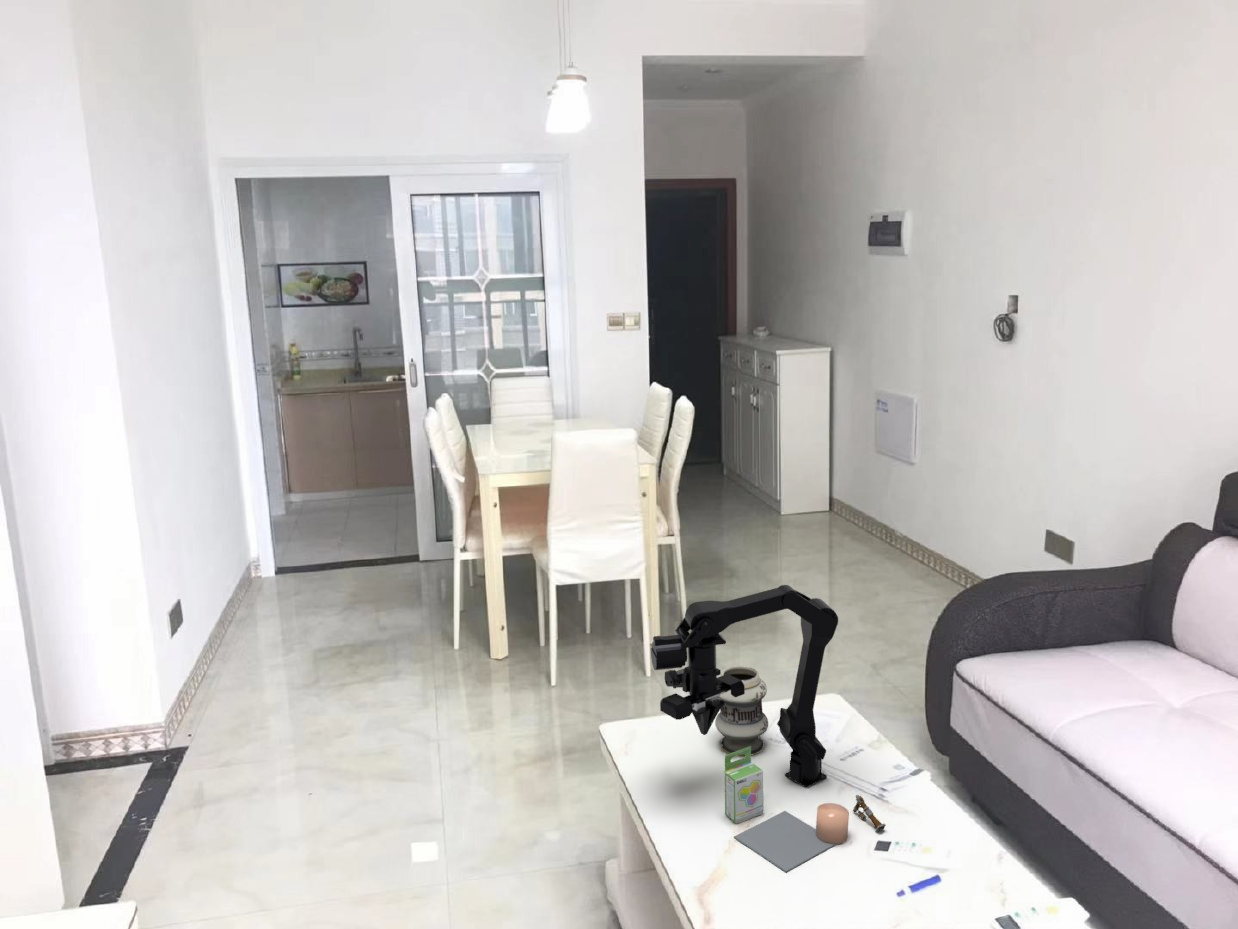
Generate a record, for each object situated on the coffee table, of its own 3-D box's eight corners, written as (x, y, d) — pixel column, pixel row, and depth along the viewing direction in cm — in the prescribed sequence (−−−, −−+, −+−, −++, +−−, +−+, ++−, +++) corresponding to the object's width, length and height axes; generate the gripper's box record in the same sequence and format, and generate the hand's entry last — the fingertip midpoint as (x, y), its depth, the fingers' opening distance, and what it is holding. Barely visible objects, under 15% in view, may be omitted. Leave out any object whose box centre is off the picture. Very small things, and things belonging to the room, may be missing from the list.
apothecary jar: (710, 735, 229) (709, 664, 225) (760, 730, 230) (760, 659, 227) (721, 761, 217) (720, 686, 214) (774, 756, 219) (774, 681, 215)
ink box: (736, 825, 193) (735, 763, 190) (724, 815, 196) (723, 755, 194) (764, 814, 196) (763, 753, 194) (752, 805, 200) (751, 745, 197)
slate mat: (785, 812, 197) (785, 810, 197) (838, 844, 186) (838, 842, 186) (733, 838, 189) (733, 836, 189) (786, 872, 178) (786, 871, 178)
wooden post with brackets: (854, 805, 197) (861, 791, 194) (879, 838, 191) (886, 824, 189) (847, 808, 196) (854, 794, 194) (872, 841, 190) (879, 826, 188)
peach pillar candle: (830, 823, 192) (831, 800, 191) (853, 837, 188) (855, 813, 187) (809, 832, 189) (810, 809, 188) (832, 847, 184) (834, 822, 183)
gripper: (710, 640, 212) (711, 707, 215) (642, 664, 201) (645, 733, 204) (746, 656, 203) (746, 725, 206) (676, 682, 192) (678, 754, 195)
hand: (703, 733), depth 203 cm, fingers closed
